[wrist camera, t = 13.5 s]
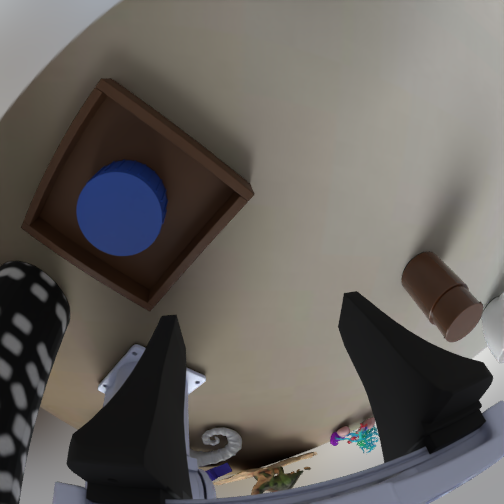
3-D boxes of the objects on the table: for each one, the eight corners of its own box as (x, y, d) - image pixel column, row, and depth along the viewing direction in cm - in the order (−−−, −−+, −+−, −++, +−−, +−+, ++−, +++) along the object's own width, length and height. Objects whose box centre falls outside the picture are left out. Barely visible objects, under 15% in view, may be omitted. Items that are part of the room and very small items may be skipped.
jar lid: (161, 152, 17) (155, 163, 15) (174, 231, 20) (170, 252, 18) (81, 167, 17) (65, 179, 15) (100, 241, 20) (89, 261, 17)
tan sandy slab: (273, 493, 47) (265, 460, 51) (335, 486, 40) (326, 447, 44) (198, 512, 35) (190, 471, 40) (263, 517, 28) (252, 466, 33)
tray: (153, 295, 23) (150, 311, 21) (32, 216, 18) (20, 227, 17) (250, 184, 20) (255, 194, 18) (111, 78, 15) (101, 78, 13)
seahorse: (224, 419, 31) (82, 455, 28) (256, 467, 34) (130, 497, 32) (218, 391, 36) (88, 429, 33) (248, 442, 39) (131, 473, 37)
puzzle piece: (218, 467, 33) (224, 477, 32) (232, 458, 43) (237, 466, 42) (157, 491, 31) (163, 501, 30) (183, 480, 41) (187, 487, 41)
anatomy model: (346, 444, 34) (334, 465, 37) (396, 429, 35) (380, 452, 38) (334, 416, 39) (324, 439, 41) (382, 404, 40) (369, 428, 43)
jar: (415, 297, 27) (454, 349, 21) (393, 279, 26) (436, 336, 19) (444, 264, 26) (489, 312, 20) (425, 243, 24) (476, 293, 18)
